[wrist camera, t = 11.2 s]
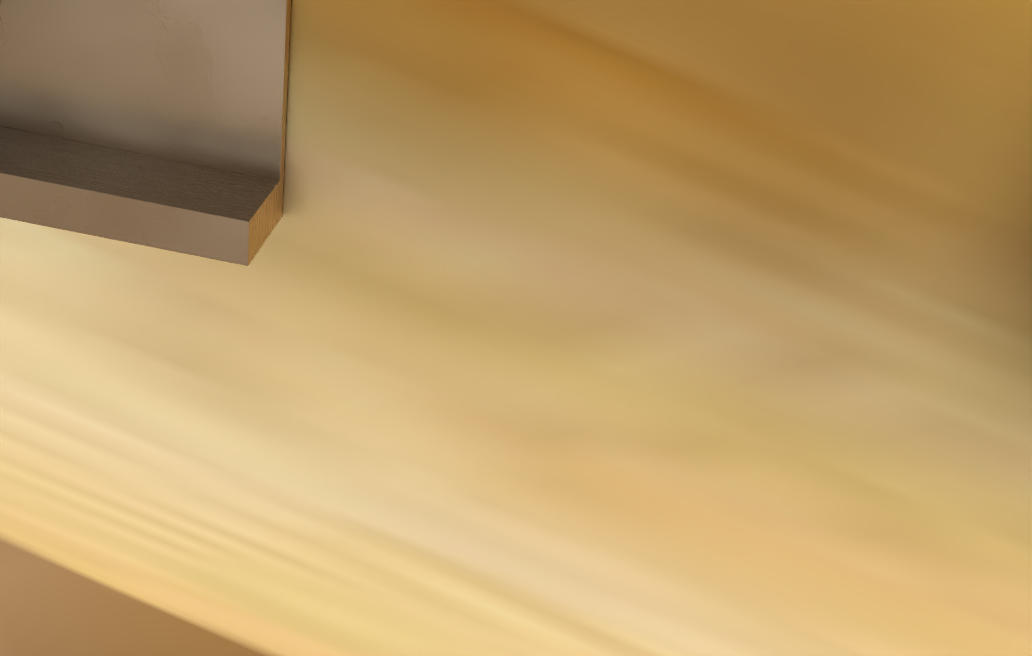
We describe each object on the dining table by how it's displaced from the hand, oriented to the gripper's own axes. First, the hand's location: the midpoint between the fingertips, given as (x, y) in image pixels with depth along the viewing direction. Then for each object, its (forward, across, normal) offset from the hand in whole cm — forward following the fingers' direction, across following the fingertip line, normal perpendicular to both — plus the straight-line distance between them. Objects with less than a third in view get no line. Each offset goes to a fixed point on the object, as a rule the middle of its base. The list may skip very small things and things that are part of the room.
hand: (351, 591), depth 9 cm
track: (+13, +9, 0) cm, 16 cm away
